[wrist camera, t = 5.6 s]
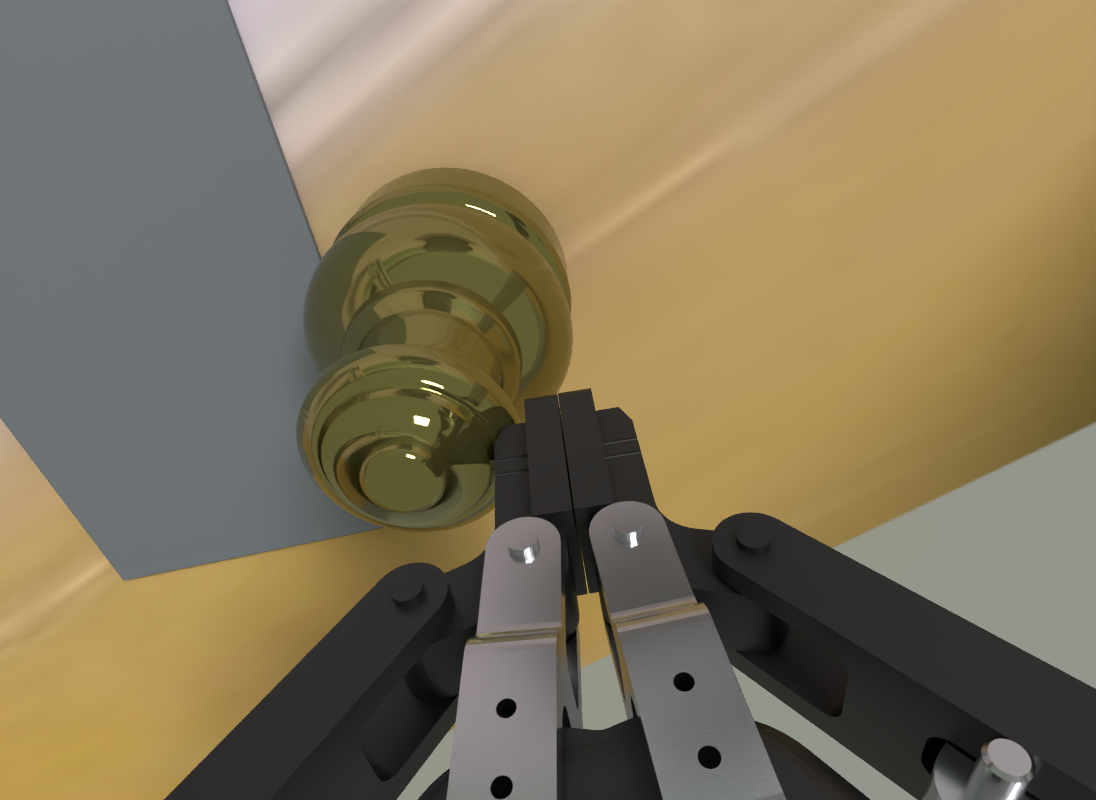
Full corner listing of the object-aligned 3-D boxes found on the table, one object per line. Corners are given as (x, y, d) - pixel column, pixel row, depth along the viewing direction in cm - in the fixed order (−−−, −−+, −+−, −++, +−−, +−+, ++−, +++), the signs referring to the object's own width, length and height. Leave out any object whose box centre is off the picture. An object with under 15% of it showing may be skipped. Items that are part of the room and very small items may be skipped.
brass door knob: (352, 369, 25) (252, 596, 16) (327, 154, 20) (175, 313, 12) (561, 380, 25) (566, 609, 17) (578, 170, 21) (597, 336, 12)
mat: (204, -63, 17) (200, -63, 17) (415, 515, 28) (415, 520, 28) (-283, 28, 17) (-293, 30, 17) (126, 574, 28) (123, 580, 28)
